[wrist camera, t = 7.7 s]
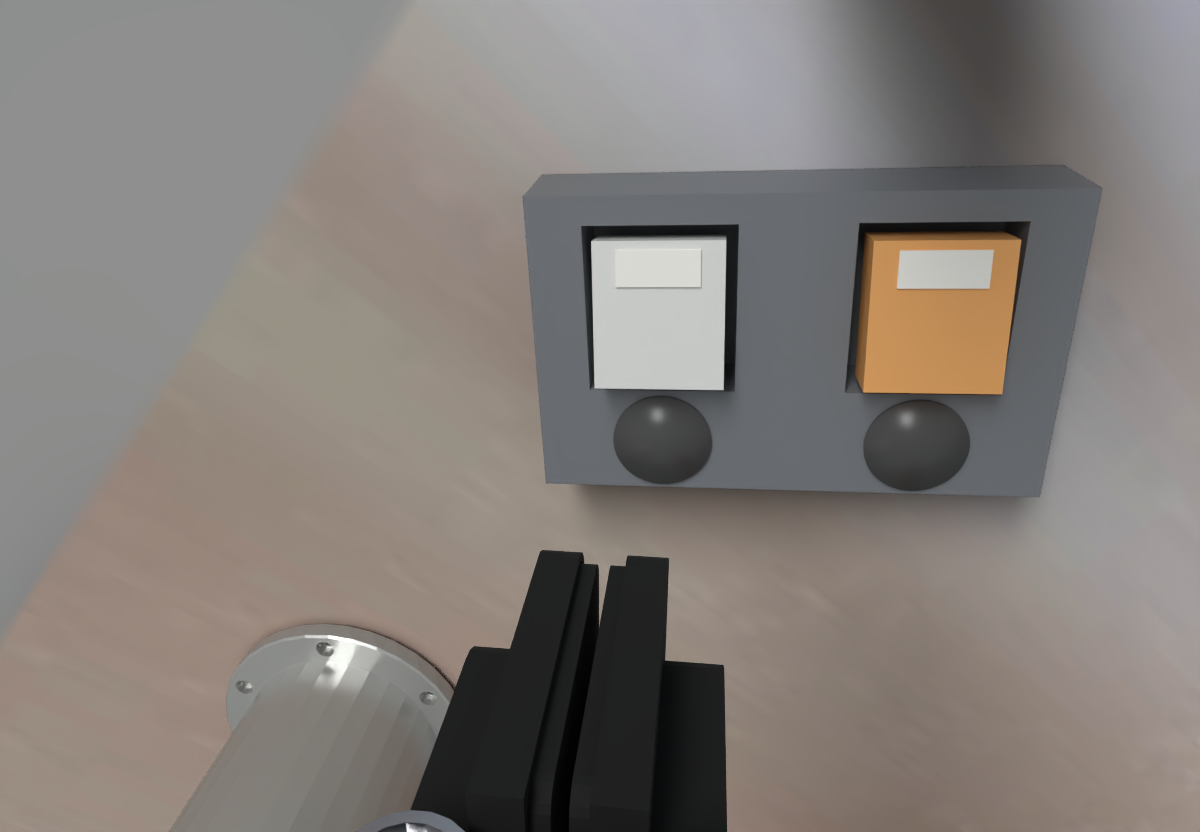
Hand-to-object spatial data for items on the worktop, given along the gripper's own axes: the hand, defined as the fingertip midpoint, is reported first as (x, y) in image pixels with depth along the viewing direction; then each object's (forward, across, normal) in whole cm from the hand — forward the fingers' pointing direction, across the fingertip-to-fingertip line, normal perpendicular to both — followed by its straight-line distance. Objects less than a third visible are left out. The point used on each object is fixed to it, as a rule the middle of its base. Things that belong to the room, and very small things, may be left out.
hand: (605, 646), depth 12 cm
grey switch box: (+24, -4, +3) cm, 24 cm away
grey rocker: (+20, 0, +2) cm, 20 cm away
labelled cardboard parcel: (+20, -9, +2) cm, 22 cm away
